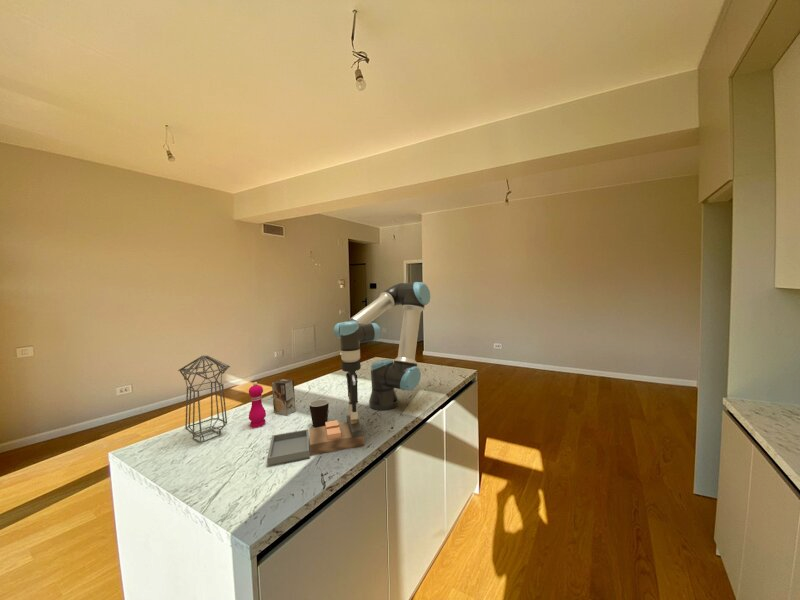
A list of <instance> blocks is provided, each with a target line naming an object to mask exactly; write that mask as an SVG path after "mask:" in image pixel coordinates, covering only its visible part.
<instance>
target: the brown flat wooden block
mask: <svg viewBox="0 0 800 600" xmlns="http://www.w3.org/2000/svg"><path fill="white" fill-rule="evenodd" d="M338 424H339V428H340V431H341V438H337V439H331V440H328V439H327V432H326V426H322V427H316V428H315V427H312V428H309V429H308V430H309V455H310V456H315V455H320V454H324V453H331V452H335V451H340V450H341V451H342V450H345V449H350V448H355V447H360V446H365V437H364V434H363V436H361V437H356V438H352V436H351V433H350V430H349V427H348V424H347V421H346V422H345V421H344V422H340V423H339V422H338Z"/></svg>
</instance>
